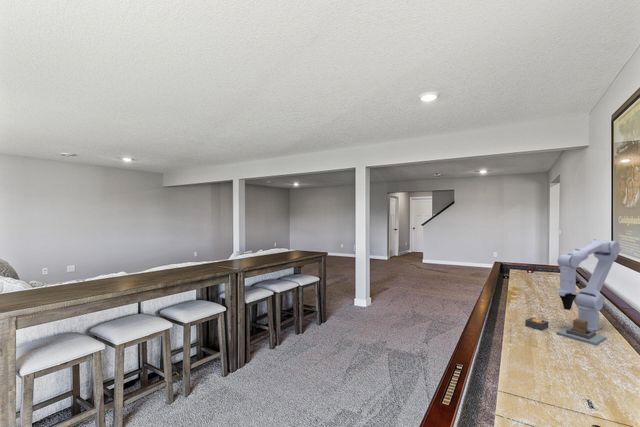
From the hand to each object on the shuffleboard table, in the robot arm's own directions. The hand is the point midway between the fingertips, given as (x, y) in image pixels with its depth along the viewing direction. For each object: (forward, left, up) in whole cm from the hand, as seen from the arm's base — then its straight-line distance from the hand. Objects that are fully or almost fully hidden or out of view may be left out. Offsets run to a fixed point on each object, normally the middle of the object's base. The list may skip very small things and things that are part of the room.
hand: (567, 309), depth 149 cm
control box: (+9, -9, -9) cm, 16 cm away
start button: (+9, -9, -8) cm, 15 cm away
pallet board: (+6, +7, -9) cm, 13 cm away
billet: (+6, +7, -8) cm, 12 cm away
